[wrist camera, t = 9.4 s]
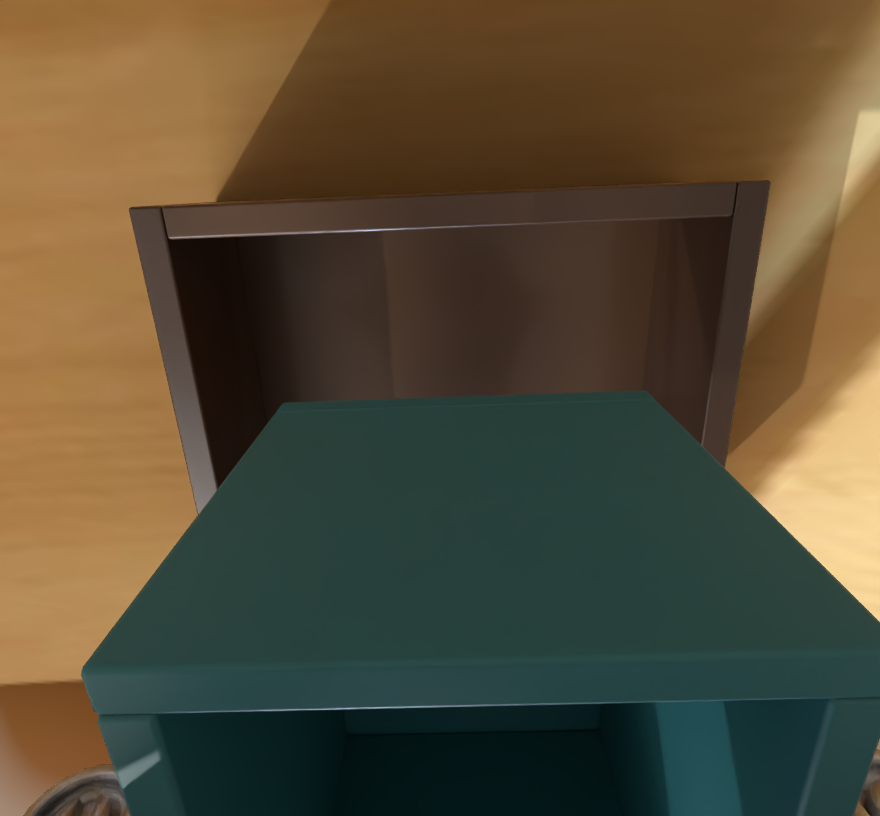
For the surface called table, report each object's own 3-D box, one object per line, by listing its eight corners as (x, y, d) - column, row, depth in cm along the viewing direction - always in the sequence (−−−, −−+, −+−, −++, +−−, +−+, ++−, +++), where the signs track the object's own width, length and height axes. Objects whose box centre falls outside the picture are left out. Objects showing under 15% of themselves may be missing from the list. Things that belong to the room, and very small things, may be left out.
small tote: (613, 724, 13) (746, 1144, 7) (331, 730, 13) (243, 1147, 7) (646, 389, 10) (914, 651, 4) (282, 401, 10) (75, 670, 4)
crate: (274, 553, 24) (228, 654, 19) (213, 201, 19) (127, 207, 14) (641, 541, 24) (698, 639, 19) (679, 182, 19) (772, 179, 14)
